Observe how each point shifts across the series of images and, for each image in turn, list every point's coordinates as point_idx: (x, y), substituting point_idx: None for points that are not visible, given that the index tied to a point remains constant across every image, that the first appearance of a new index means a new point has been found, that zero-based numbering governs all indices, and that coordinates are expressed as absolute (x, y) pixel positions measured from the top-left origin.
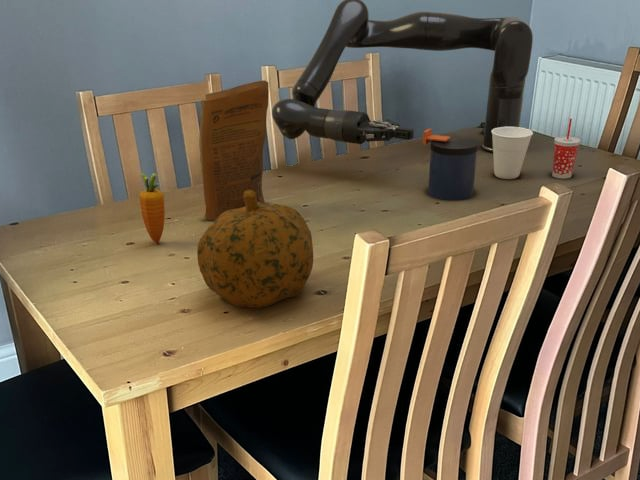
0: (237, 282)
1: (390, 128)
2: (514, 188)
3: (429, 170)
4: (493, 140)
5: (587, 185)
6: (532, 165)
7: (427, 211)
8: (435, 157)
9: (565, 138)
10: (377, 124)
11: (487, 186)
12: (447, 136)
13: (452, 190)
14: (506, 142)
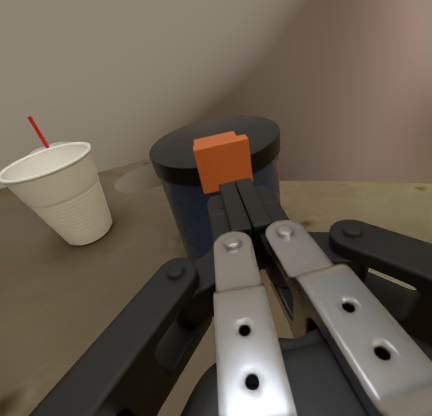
0: None
1: (311, 242)
2: (154, 200)
3: None
4: (65, 184)
5: (111, 172)
6: (21, 235)
7: (357, 212)
8: (277, 167)
9: (46, 148)
10: (397, 367)
11: (161, 223)
12: (195, 142)
13: None
14: (91, 161)
